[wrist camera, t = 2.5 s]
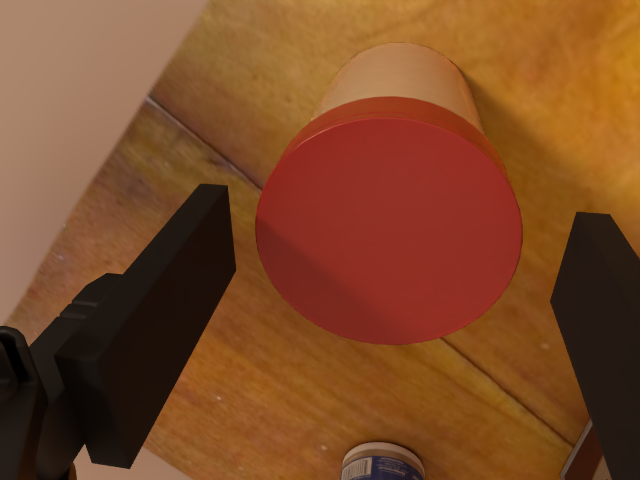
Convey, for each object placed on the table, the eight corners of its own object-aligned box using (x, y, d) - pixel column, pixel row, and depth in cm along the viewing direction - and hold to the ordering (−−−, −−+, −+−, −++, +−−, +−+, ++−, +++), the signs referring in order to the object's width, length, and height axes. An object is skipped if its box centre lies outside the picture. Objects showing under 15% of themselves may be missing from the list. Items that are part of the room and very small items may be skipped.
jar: (320, 185, 24) (272, 317, 16) (321, 39, 21) (260, 113, 13) (462, 195, 23) (487, 340, 15) (487, 44, 20) (535, 128, 12)
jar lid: (273, 296, 17) (259, 332, 16) (261, 89, 14) (242, 109, 12) (488, 318, 16) (495, 358, 15) (536, 101, 13) (552, 125, 11)
